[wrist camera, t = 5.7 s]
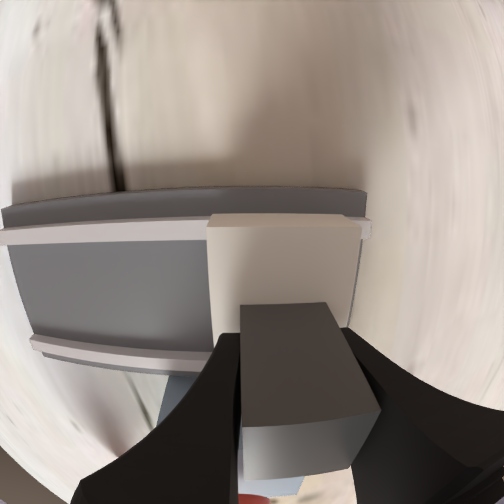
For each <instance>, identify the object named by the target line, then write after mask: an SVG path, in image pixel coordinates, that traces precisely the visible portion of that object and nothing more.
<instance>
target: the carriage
mask: <svg viewBox="0 0 504 504" xmlns="http://www.w3.org/2000/svg"><path fill="white" fill-rule="evenodd" d="M361 232H362V227H361V226H359V225H358V224H356V223H354V222H353V221H351V220H350V219H348V218H347V217H345V216H344V215H342V214H296V213H232V214H212V215H211V217H210V220H209V222H208V224H207V226H206V237H207V258H208V275H209V291H210V305H211V318H212V330H213V342H214V348H215V345H216V343H217V341H218V338H219V335H221V334H222V333H240V357H241V412H242V443H243V465H244V481H245V480H269V479H283V478H293V477H301V476H309V475H316V474H322V473H328V472H333V471H338V470H343V469H348V468H349V467H350V465H351V464H352V462H353V460H354V459H355V457H356V456H357V454H358V452H359V451H360V449H361V447H362V445H363V444H364V442H365V440H366V438H367V437H368V435H369V433H370V431H371V429H372V427H373V426H374V424H375V422H376V420H377V418H378V416H379V414H380V412H381V408H380V406H379V404H378V402H377V400H376V398H375V396H374V394H373V392H372V390H371V388H370V386H369V384H368V382H367V380H366V378H365V376H364V374H363V372H362V370H361V368H360V366H359V364H358V362H357V360H356V358H355V356H354V354H353V352H352V350H351V348H350V346H349V344H348V343H347V341H346V339H345V337H344V335H343V333H342V331H341V329H340V328H343V327H347V322H348V317H349V312H350V307H351V301H352V296H353V290H354V284H355V277H356V271H357V264H358V257H359V249H360V241H361Z"/></svg>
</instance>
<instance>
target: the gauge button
mask: <svg viewBox="0 0 504 504" xmlns="http://www.w3.org/2000/svg"><path fill="white" fill-rule="evenodd" d="M238 498H239V504H270V499H268V498H267V497H264V496H260V495H253V494H238Z"/></svg>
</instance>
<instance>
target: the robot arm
mask: <svg viewBox="0 0 504 504" xmlns="http://www.w3.org/2000/svg"><path fill="white" fill-rule="evenodd" d="M340 329H341V331H342V333H343V335H344V337H345V339H346V341H347V343H348V344H349V346H350V348H351V350H352V352H353V354H354V356H355V358H356V360H357V362H358V364H359V366H360V368H361V370H362V372H363V374H364V376H365V378H366V380H367V382H368V384H369V386H370V388H371V390H372V392H373V394H374V396H375V398H376V400H377V402H378V404H379V406H380V408H381V412H380V414H379V416H378V418H377V420H376V422H375V424H374V426H373V427H372V429H371V431H370V433H369V435H368V437H367V438H366V440H365V442H364V444H363V445H362V447H361V449H360V451H359V452H358V454H357V456H356V457H355V459H354V460H353V462H352V464H351V469H352V474H353V479H354V485H355V491H356V498H357V504H504V481H503V479H502V477H503V476H504V467H503V466H504V411H501V410H495V409H491V408H487V407H483V406H480V405H476V404H473V403H470V402H467V401H464V400H462V399H459V398H457V397H454V396H452V395H449V394H447V393H445V392H443V391H440V390H438V389H436V388H435V387H433V386H431V385H429V384H427V383H425V382H423V381H421V380H420V379H418V378H416V377H415V376H413V375H412V374H410V373H409V372H407V371H406V370H404V369H402V368H401V367H399V366H398V365H397V364H395V363H394V362H392V361H391V360H390V359H388V358H387V357H386V356H384V355H383V354H382V353H380V352H379V351H378V350H376V349H375V348H374V347H373V346H371V345H370V344H369V343H368V342H366V341H365V340H364V339H362V338H361V337H360V336H359V335H357V334H356V333H355V332H353V331H352V330H351V329H349V328H348V327H343V328H340ZM241 415H242V412H241V357H240V333H222V334H221V335H219V338H218V341H217V343H216V345H215V348H214V350H213V352H212V354H211V355H210V357H209V359H208V361H207V363H206V364H205V366H204V368H203V369H202V371H201V373H200V374H199V376H198V377H197V379H196V380H195V382H194V383H193V384H192V386H191V387H190V389H189V390H188V391H187V393H186V394H185V395H184V397H183V398H182V399H181V401H180V402H179V403H178V404H177V405H176V407H175V408H174V409H173V410H172V411H171V412H170V413H169V414H168V415H167V417H166V418H165V419H164V420H163V421H162V422H161V423H160V424H159V425H158V426H157V427H156V428H154V429H153V430H152V431H151V432H150V433H149V434H148V435H147V436H146V437H145V438H143V439H142V440H141V441H140V442H139V443H137V444H136V445H135V446H133V447H132V448H131V449H129V450H128V451H127V452H126V453H124V454H123V455H122V456H120V457H119V458H117V459H116V460H114V461H113V462H111V463H110V464H108V465H106V466H105V467H103V468H101V469H100V470H98V471H96V472H94V473H93V474H91V475H89V476H87V477H85V478H83V479H82V480H80V482H79V485H78V487H77V489H76V490H75V492H74V495H73V497H72V500H71V503H70V504H239V498H238V449H239V438H240V426H241ZM0 504H6V503H5V502H4V501H2V500H1V499H0Z"/></svg>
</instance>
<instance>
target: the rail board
mask: <svg viewBox="0 0 504 504" xmlns="http://www.w3.org/2000/svg"><path fill="white" fill-rule="evenodd" d="M366 200H367V193H366V192H363V191H361V190H355V189H338V188H316V187H280V186H225V187H189V188H167V189H150V190H136V191H123V192H111V193H101V194H91V195H82V196H73V197H65V198H57V199H50V200H43V201H36V202H30V203H23V204H17V205H12V206H9V207H6V208H3V209H1V212H2V219H3V225H4V228H3V229H1V230H0V245H7V247H8V251H9V256H10V260H11V264H12V268H13V272H14V276H15V279H16V283H17V286H18V290H19V293H20V296H21V299H22V302H23V305H24V308H25V311H26V314H27V317H28V319H29V322H30V325H31V327H32V330H33V332H34V334H33V335H32V337H31V338H30V339H29V341H30V343H31V346H32V348H33V350H37V351H41V352H42V353H43V355H44V357H48V358H53V359H57V360H62V361H67V362H71V363H77V364H82V365H88V366H93V367H100V368H106V369H113V370H120V371H128V372H137V373H147V374H158V375H171V376H189V377H198V376H199V374H200V373H201V371H202V369H203V368H204V366H205V364H206V363H207V361H208V359H209V357H210V355H211V354H212V352H213V350H214V342H213V330H212V318H211V305H210V291H209V275H208V258H207V237H206V226H207V224H208V222H209V220H210V217H211V215H212V214H232V213H296V214H342V215H344V216H345V217H347V218H348V219H350V220H351V221H353V222H354V223H356V224H358V225H359V226H361V227H362V232H361V241H360V249H359V257H358V264H357V271H356V277H355V284H354V290H353V296H352V301H351V307H350V312H349V317H348V322H347V327H348V325H349V320H350V315H351V310H352V305H353V300H354V294H355V288H356V282H357V276H358V269H359V263H360V255H361V248H362V240H363V239H370V231H371V222H372V221H371V220H369V219H367V218H365V211H366Z"/></svg>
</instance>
